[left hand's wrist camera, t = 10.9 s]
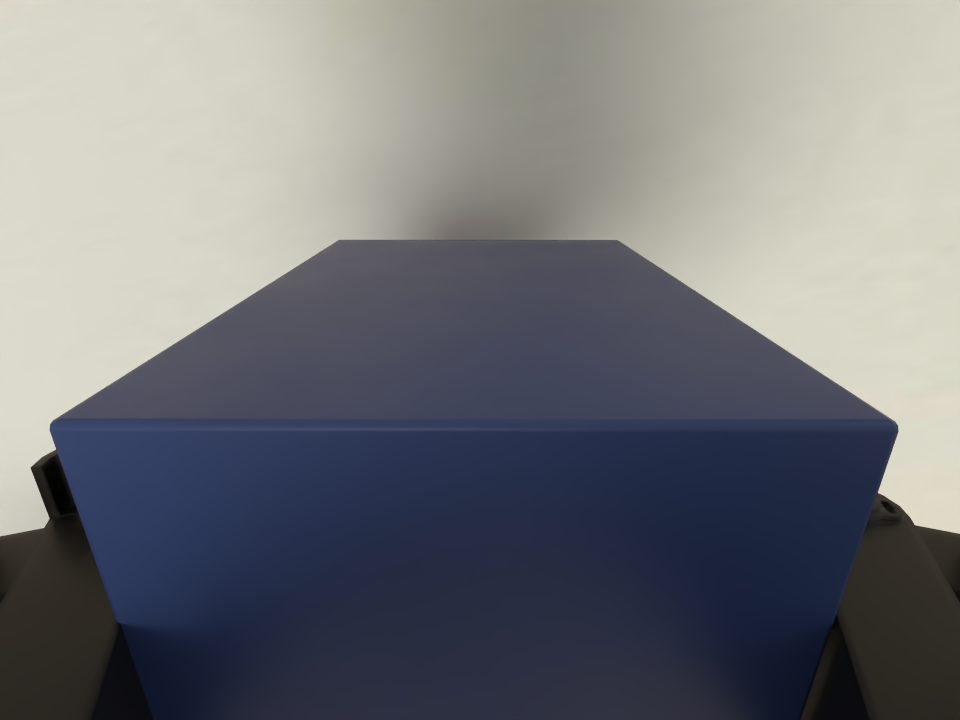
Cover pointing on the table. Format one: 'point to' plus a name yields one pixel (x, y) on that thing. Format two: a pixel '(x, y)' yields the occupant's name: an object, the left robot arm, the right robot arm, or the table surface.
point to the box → (475, 495)
